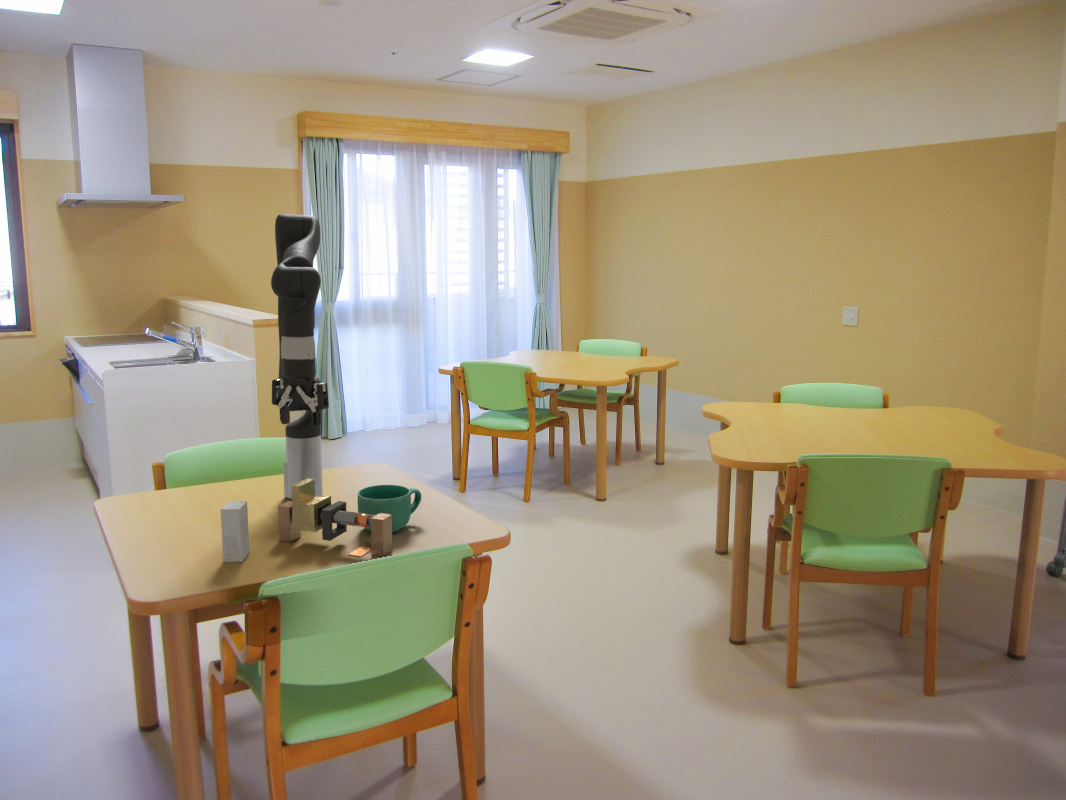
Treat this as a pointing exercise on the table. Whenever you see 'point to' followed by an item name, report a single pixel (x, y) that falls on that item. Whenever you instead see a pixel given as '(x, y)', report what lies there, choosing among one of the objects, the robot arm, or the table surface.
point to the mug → (389, 503)
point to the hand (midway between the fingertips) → (300, 425)
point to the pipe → (377, 523)
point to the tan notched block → (307, 506)
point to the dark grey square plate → (327, 521)
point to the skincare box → (235, 531)
